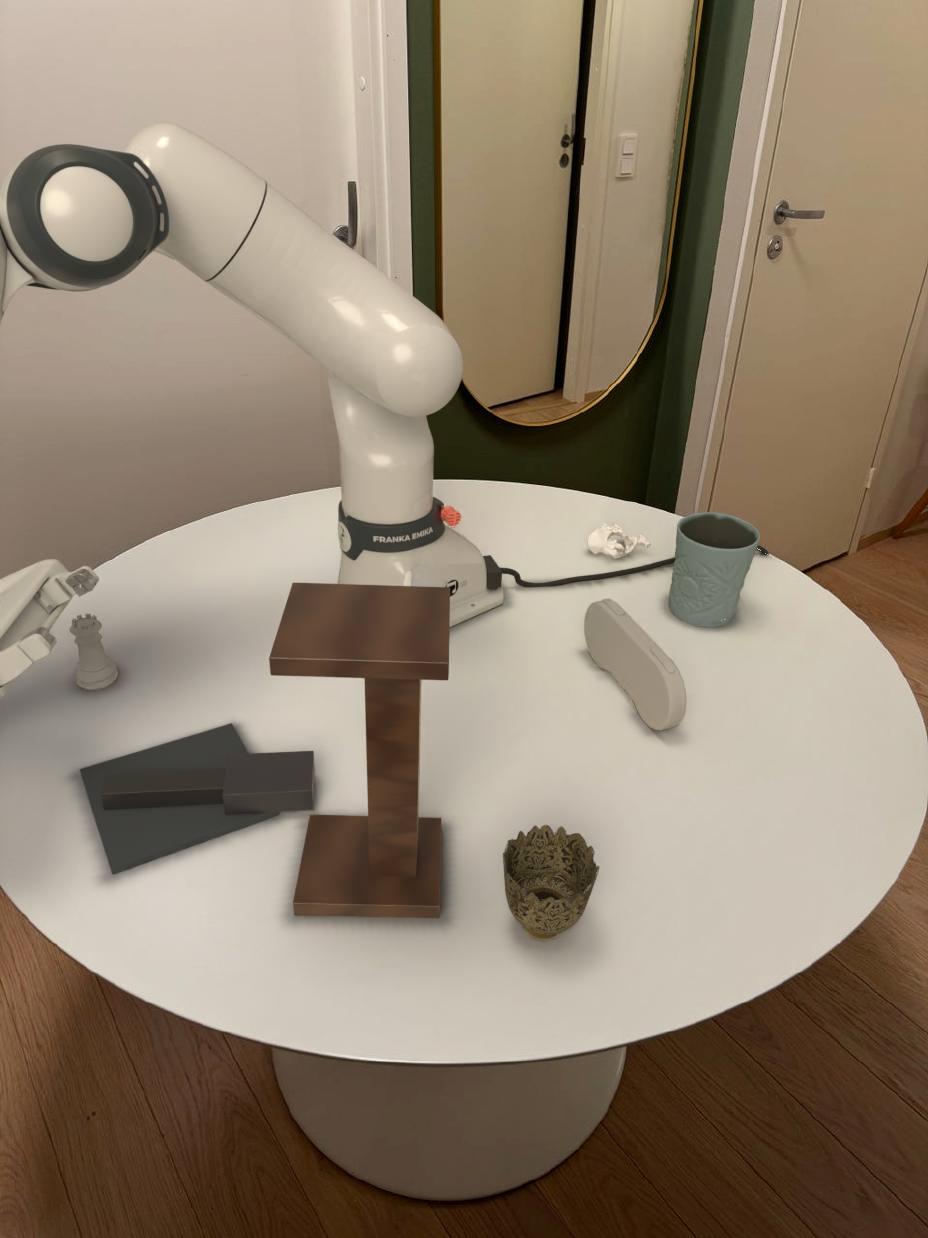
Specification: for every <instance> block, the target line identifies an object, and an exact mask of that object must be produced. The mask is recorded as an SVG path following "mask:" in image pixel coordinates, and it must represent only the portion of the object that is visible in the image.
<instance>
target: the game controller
mask: <svg viewBox="0 0 928 1238" xmlns="http://www.w3.org/2000/svg"><path fill="white" fill-rule="evenodd" d="M583 630H584V638H585V639H584V640H585V643H586V647H587V650H588V653H589V655H590V656H591V658H592V660H593V662H594V663H595V664H596V665H597V666H598V667H599V668H601V669H602V670H606V671H607V672H609V673H610V674H611V676H612V677H613V678H614V679H615V680H616V682H617V683H618V684H619V685H620V686H621V687H622V689H623V690H624V691H625V692H626V694H627V695H628V696H629V697H630V698H631V700H632V701H633V703H634V706H635V708H636V711H637V713H638V715H639V716H640V718H641V719H642V721H643V722H644V723H645V724H646V725H647V727H649V728H651V729H652V730H655V731H662V730H667V729H671V728H675V727H677V726H679V725H680V724H681V723H682V721H683V720H684V718H685V716H686V710H687V691H686V685H685V683H684V682H685V681H684V679H683V676H682V674H681V672H680V670H679V668H678V666H677V665H676V663H675V662H674V661H673V660H672V658H671V657H669V655H668V654H667V653H666V652H665V651H664V650H663V649H662V648H661V646H659V645H658V644H657V642H656V641H655V640H654V639H653V638H652V637H651V636H650V635H649V634H648V633H647V632H646V631H645V630H644V629H643V628H642V627H641V626H640V625H639V624H638V623H637V622H636V621H635V620H634V618H632V616H631V615H630V614H628V612H626V610H625V608H623V607H622V606H621V605H620V604H619V603H618V602H617V601H615V600H613V599H611V598H602V599H601V600H597V601H593V602H591V603H590V604H589V605H588V607H587V609H586V611H585V614H584V622H583Z"/></svg>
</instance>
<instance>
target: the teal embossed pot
mask: <svg viewBox="0 0 928 1238" xmlns="http://www.w3.org/2000/svg"><path fill="white" fill-rule="evenodd" d="M760 540H761V533H760V532H759V530H758V529H757V528H756V527H755V526H754V525H753V524H751V523H750V522H749V521H746V520H745V519H742V518H739V517H737V516H733V515H730V514H726V513H721V512H711V511H703V512H694V513H690V514H688V515H686V516H683V517H682V518H680V519H679V521H678V522H677V526H676V535H675V550H674V557H675V559H676V560H675V562H674V563H673V564H672V565H673V566H672V573H671V582H670V585H669V594H668V595H669V596H668V603H667V604H668V609H669V611H670V613H671V614H672V615H673V616H674V617H676V618H677V619H678V620H680V621H682V622H683V623H686V624H689V625H692V626H696V627H700V628H719V627H724V626H725V625H728V624H729V623H731V622H732V620H733V619H734V616H735V614H736V610H737V609H738V606H739V603H740V599H741V592H742V589H743V588H744V585H745V581H746V578H747V575H748V573H749V571H750V569H751V565H752V563H753V561H754V557H755V555H756V552H757V550H756V549H757V546H758V545H759V543H760ZM734 613H735V614H734ZM724 619H726V620H724ZM721 620H722V621H721Z"/></svg>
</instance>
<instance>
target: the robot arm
mask: <svg viewBox="0 0 928 1238" xmlns="http://www.w3.org/2000/svg"><path fill="white" fill-rule="evenodd" d="M153 252H155V253H158V254H161V255H163V256H165V257H167V258H169V259H171V260H173V261H176V262H177V263H179V264H181V265H182V266H183V267H184V268H186V269H187V270H188V271H190V272H191V273H193V274H194V275H196V277H198V278H200V279H201V280H202V281H204V282H205V283H207V284H208V285H210V286H211V287H213V288H214V289H216V290H217V291H219V292H220V293H222V294H223V295H224V296H226V297H227V298H229V299H230V300H231V301H233V303H236V304H238V305H239V306H241V307H242V308H243V309H244V310H246V311H248V312H249V313H251V314H252V315H253V316H255V317H257V318H258V319H259V320H261V321H262V322H263V323H265V324H266V325H268V326H270V327H271V328H272V329H274V330H275V331H276V332H277V333H279V334H280V335H281V336H283V337H284V338H286V339H287V340H288V341H290V342H291V343H292V344H293V345H294V346H297V347H298V348H299V349H300V350H302V351H303V352H304V353H305V354H307V355H308V356H309V357H311V358H312V359H313V360H314V361H317V362H318V363H319V364H320V365H322V366H323V367H325V369H326V374H327V375H326V376H327V381H328V388H329V389H328V390H329V395H330V400H331V406H332V412H333V416H334V422H335V428H336V434H337V441H338V453H339V454H338V455H339V474H340V475H339V476H340V501H339V503H338V506H337V521H338V523H337V537H338V542H339V548H340V550H341V551H340V563H339V573H338V579H337V583H336V584H358V585H390V586H421V587H449V588H450V628H452V627H454V626H456V625H458V624H460V623H463V622H465V621H467V620H470V619H472V618H474V617H476V616H478V615H481V614H483V613H485V612H487V611H490V610H491V609H494V608H496V607H498V606H500V605H502V604H503V603H504V602H505V595H504V589H503V587H502V583H503V582H502V581H503V575H510V576H511V577H513V578H514V582H515V584H517V585H518V586H521V587H522V588H547V587H548V588H549V587H550V588H551V587H560V586H564V585H571V584H575V583H583V582H591V581H600V580H608V579H613V578H619V577H624V576H629V575H634V574H639V573H643V572H647V571H651V570H654V569H658V568H661V567H666V566H669V565H674V562H675V560H676V559H675V556H673V557H670V558H667V559H662V560H659V561H656V562H652V563H648V564H644V565H640V566H636V567H631V568H624V569H621V570H614V571H608V572H602V573H595V574H586V575H577V576H571V577H565V578H561V579H560V578H559V579H556V580H551V581H546V582H530V581H527V580H524V579H522V577H521V574H520V572H518V571H517V570H515V569H513V568H510V567H499V565H498V563H497V562H496V561H495V559H494V558H493V556H492V555H491V554H487V555H483V554H482V552H481V550H480V549H479V548H478V546H476V544H474V542H472V540H470V539H469V538H468V537H466V536H465V535H463V534H462V533H461V532H459V531H457V530H456V529H454V528H452V527H456V526H457V525H459V523H460V522H461V521H462V514H461V512H460V511H459V510H457V509H455V508H454V507H453V506H452V505H447V506H445V503H444V502H443V501H442V500H440V499H439V498H437V497H435V496H434V466H435V464H434V463H435V460H434V459H435V444H434V439H433V436H432V432H431V429H430V426H429V423H428V417H427V416H429V415H431V414H434V413H436V412H438V411H440V410H441V409H442V408H444V407H445V406H446V405H447V404H448V403H449V402H450V401H451V400H452V399H453V397H454V396H455V395H456V394H457V392H458V390H459V387H460V384H461V382H462V378H463V374H464V359H463V355H462V354H463V353H462V350H461V348H460V345H459V344H458V342H457V341H456V338H455V336H454V335H453V332H452V331H451V330H450V328H449V327H448V326H447V325H446V323H445V321H443V319H442V318H441V317H440V316H439V315H438V314H436V312H434V311H433V310H432V309H430V308H429V307H427V306H426V305H425V304H424V303H423V302H421V300H419V299H418V298H416V297H415V296H413V295H412V294H411V293H410V292H408V291H407V290H406V289H404V287H402V286H401V285H399V284H398V283H397V282H395V280H393V279H392V278H390V277H389V276H388V275H387V274H385V273H384V272H383V271H381V270H380V269H379V268H377V267H376V265H375V266H374V264H372V263H371V262H370V261H368V260H367V259H365V258H364V257H363V256H361V255H360V254H359V253H358V252H356V251H355V250H354V249H353V248H351V247H350V246H349V245H347V244H346V243H345V242H343V241H342V240H341V239H339V238H338V237H337V236H336V235H334V234H333V233H332V232H331V231H329V230H328V229H327V228H326V227H324V226H323V225H322V224H321V223H319V222H318V221H317V220H315V219H314V218H313V217H312V216H311V215H309V214H308V213H307V212H306V211H305V210H303V209H302V208H301V207H299V206H298V205H297V204H295V203H294V202H293V201H292V200H291V199H289V198H288V197H286V195H284V193H282V192H280V191H279V190H278V189H277V188H276V187H275V186H273V185H272V184H271V183H269V182H268V181H267V180H266V179H264V178H263V177H262V176H260V175H259V174H258V173H257V172H255V171H254V170H252V169H251V168H250V167H249V166H248V165H246V164H244V163H243V162H242V161H240V160H239V159H237V158H236V157H235V156H233V155H232V154H230V153H228V152H227V151H225V150H224V149H222V148H221V147H219V146H218V145H216V144H214V143H213V142H211V141H209V140H208V139H206V138H204V137H203V136H201V135H199V134H197V133H196V132H193V131H191V130H189V129H187V128H186V127H184V126H182V125H179V124H178V123H174V122H169V121H159V122H154V123H151V124H149V125H147V126H145V127H143V128H142V129H140V130H138V131H137V132H136V133H135V134H134V135H133V136H132V137H131V138H130V139H129V141H128V142H127V143H126V145H125V146H124V148H123V149H122V151H119V150H118V151H117V150H111V149H103V148H98V147H93V146H88V145H82V144H72V143H63V144H54V145H47V146H45V147H41V148H39V149H37V150H35V151H33V152H32V153H30V154H28V155H27V156H25V157H23V158H22V159H20V160H19V161H17V162H16V163H14V165H12V167H10V168H9V169H8V171H7V172H6V173H5V175H4V176H3V177H2V179H1V181H0V325H1V323H2V321H3V317H4V314H5V313H6V310H7V308H8V307H9V305H10V302H11V301H12V300H13V298H14V297H15V295H16V294H17V293H18V292H19V291H21V290H22V289H23V288H24V287H35V288H41V289H47V290H53V291H55V290H56V291H66V292H72V293H73V292H74V293H76V292H77V293H79V292H81V293H82V292H89V291H93V290H98V289H100V288H102V287H105V286H108V285H109V286H110V285H112V284H115V283H116V282H118V281H120V280H122V279H124V278H125V277H126V276H128V275H129V274H131V273H132V272H133V271H134V270H135V269H136V268H137V267H138V266H139V265H140V264H141V263H142V262H143V261H144V260H145V259H146V258H148V256H150V254H152V253H153ZM445 522H446V523H445ZM757 548H758V549H760V550H761V551H760V550H758V549H756V552H759V553H761V554H762V555H763V556H770V553H769V551H768V550H767V549H766V548H765V547H763V546H761V545H759V544H758V546H757ZM765 553H766V554H765ZM767 554H768V555H767ZM98 582H100V577H99V576H98V575H97V572H95V571H94V570H93V569H92V567H90V566H88V565H83V566H81V567H79V568H77V569H74V571H73V570H72V571H69V569H67V568H66V567H65V566H64V564H63V563H61V562H60V560H58V559H55V558H47V559H46V558H45V559H43V560H39V561H37V562H35V563H33V564H30V565H28V566H26V567H23V568H21V569H19V570H17V571H15V572H12V573H10V574H8V575H5V576H4V577H2V578H0V700H1V699H2V698H3V696H4V695H6V694H5V693H6V692H7V691H8V689H9V688H10V687H11V685H12V684H13V683H14V681H15V680H16V678H17V677H19V675H21V674H22V673H23V672H24V671H26V670H27V669H28V668H29V667H31V666H32V665H33V664H34V663H35V662H37V661H39V660H41V659H42V658H45V657H47V656H49V655H50V653H51V652H52V651H53V649H54V648H55V645H56V644H57V640H58V639H57V638H56V637H55V636H54V635H53V634H51V632H50V631H51V629H52V627H53V626H54V625H55V623H56V622H57V621H58V619H59V617H60V616H61V614H62V613H63V612H64V611H65V609H66V608H67V606H68V605H69V603H71V600H72V599H73V597H74V596H78V597H79V598H80V597H82V596H84V595H86V594H87V593H90V592H92V591H93V590H94V588H95V587H96V586H97V584H98Z"/></svg>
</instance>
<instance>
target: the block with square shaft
mask: <svg viewBox="0 0 928 1238" xmlns="http://www.w3.org/2000/svg"><path fill="white" fill-rule="evenodd" d="M314 752H315V751H314V750H300V751H275V752H256V753H255V752H254V753H253V752H252V753H251V752H250V753H248V754H230V755H229V756H228V763H227V769H215V770H195V771H174V772H153V773H132V774H112V775H106V777H105V781H104V784H103V787H102V790H101V793H100V796H101V800H102V804H103V808H104V810H109V809H128V808H147V807H166V806H185V805H204V804H223V803H224V810H225V815H228V814H247V813H265V812H279V813H280V812H298V811H301V812H302V811H314V805H315V804H314V803H315V802H314V801H315V780H316V779H315V778H316V776H315V775H316V765H315V753H314Z"/></svg>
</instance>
